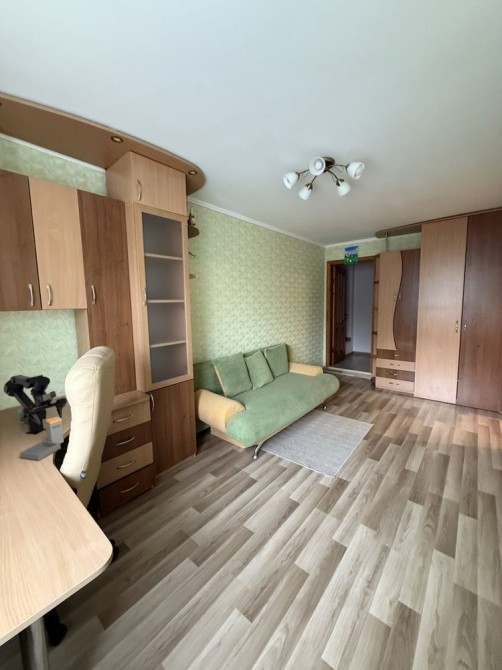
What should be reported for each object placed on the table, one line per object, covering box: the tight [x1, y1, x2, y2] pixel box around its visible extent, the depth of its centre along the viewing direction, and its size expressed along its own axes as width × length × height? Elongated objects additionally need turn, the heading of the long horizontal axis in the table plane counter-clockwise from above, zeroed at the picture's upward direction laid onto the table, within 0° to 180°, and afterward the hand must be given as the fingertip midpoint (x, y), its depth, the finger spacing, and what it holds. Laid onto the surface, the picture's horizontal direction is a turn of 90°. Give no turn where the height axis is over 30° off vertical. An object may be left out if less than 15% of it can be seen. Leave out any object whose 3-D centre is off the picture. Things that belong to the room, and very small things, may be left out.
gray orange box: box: [45, 416, 64, 444], centre depth 135 cm, size 6×5×12 cm
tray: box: [19, 440, 62, 462], centre depth 126 cm, size 11×11×3 cm
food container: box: [17, 408, 25, 425], centre depth 161 cm, size 12×6×10 cm, turn 168°
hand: (51, 421), depth 137 cm, fingers open, 9 cm apart
